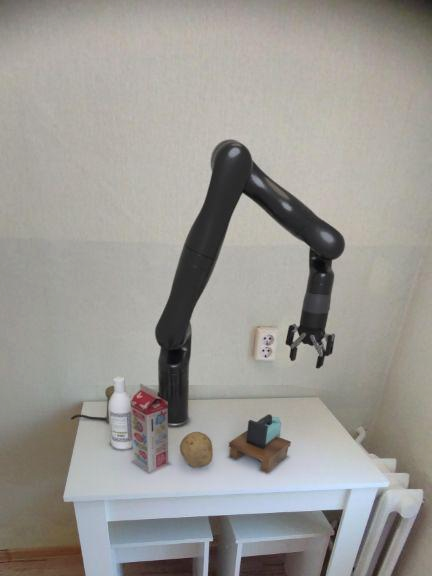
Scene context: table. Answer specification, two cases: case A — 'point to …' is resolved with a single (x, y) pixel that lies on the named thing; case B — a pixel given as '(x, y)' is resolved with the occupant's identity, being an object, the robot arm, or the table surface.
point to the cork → (109, 393)
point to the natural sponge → (196, 449)
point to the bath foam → (120, 416)
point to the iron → (263, 431)
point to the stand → (260, 451)
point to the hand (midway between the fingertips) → (305, 364)
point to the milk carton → (149, 429)
